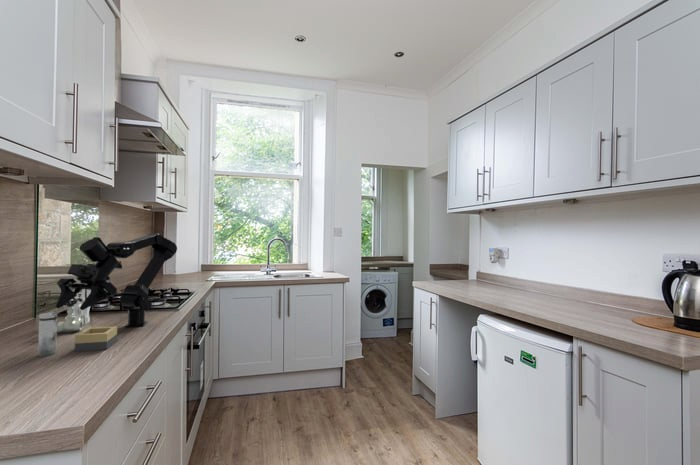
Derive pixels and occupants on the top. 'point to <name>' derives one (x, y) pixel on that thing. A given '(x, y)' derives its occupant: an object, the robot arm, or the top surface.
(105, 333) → the collar block
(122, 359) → the top surface
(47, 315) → the metal tumbler
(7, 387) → the top surface
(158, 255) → the robot arm
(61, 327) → the valve
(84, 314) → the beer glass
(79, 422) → the top surface
